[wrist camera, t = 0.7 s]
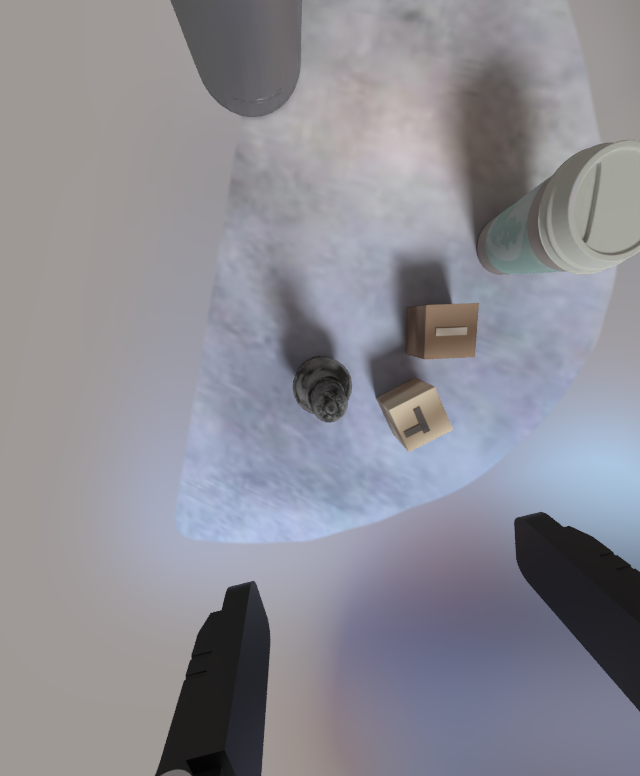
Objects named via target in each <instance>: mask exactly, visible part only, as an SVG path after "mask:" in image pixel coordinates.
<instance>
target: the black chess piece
mask: <svg viewBox="0 0 640 776" xmlns="http://www.w3.org/2000/svg"><path fill="white" fill-rule="evenodd" d="M351 390H352V382H351V377H350V375H349V373H348V371H347V369H346V368H345V367H344V366H343V365H342V364H341V363H339V362H338V361H336V360H334V359H331V358H327V357H320V356H318V357H313V358H311V359H308V360H307V361H305V362H304V363H303V364H302V365H301V367H300V368H299V369H298V371H297V373H296V375H295V378H294V381H293V392H294V396H295V398H296V400H297V402H298V404H299V405H300V406H301V407H302V408H303V409H304V410H306V411H307V412H309V413H312V414H315V415H316V416H317V418H319V419H320V420H322V421H324V422H335V421H337V420H339V419H340V418H342V417H343V415H344V414H345V413H346V410H347V405H348V400H349V397H350V395H351Z"/></svg>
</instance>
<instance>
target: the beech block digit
mask: <svg viewBox="0 0 640 776" xmlns="http://www.w3.org/2000/svg"><path fill="white" fill-rule="evenodd" d="M376 399H377V401H378V403H379V405H380V408H381V410H382V412H383V414H384V416H385V418H386V420H387V422H388V424H389V426H390V428H391V430H392V433H393V435H394V436H395V437H396V438H397V439H398V440H399V442H400V443H401V444H402V445H403V446H404V447H405V448H406V450H407V451H408V452H410V451H412V450H414V449H416V448H418V447H420V446H422V445H424V444H426V443H428V442H430V441H432V440H434V439H436V438H438V437H440V436H442V435H444V434H446V433H448V432H450V431H452V430H453V428H452V426H451V424H450V421H449V419H448V417H447V414H446V412H445V410H444V407H443V405H442V402H441V400H440V398H439V395H438V393H437V391H436V388H435V387H434V386H432V385H430V384H428V383H425V382H423V381H421V380H419V379H417V378H414V379H412V380H410V381H408V382H406V383H404V384H402V385H401V386H399V387H397V388H395V389H393V390H391V391H389V392H387V393H385V394H383V395H381V396H379V397H377V398H376Z"/></svg>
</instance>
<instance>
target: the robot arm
mask: <svg viewBox="0 0 640 776" xmlns="http://www.w3.org/2000/svg"><path fill="white" fill-rule="evenodd" d="M171 3H172V5H173V8H174V11H175V12H176V16H177V18H178V21H179V23H180V26H181V29H182V31H183V34H184V37H185V39H186V42H187V44H188V47H189V49H190V52H191V55H192V57H193V60H194V62H195V65H196V68H197V70H198V73H199V75H200V77H201V79H202V82H203V84H204V85H205V87H206V89H207V90H208V91H209V93H210V94H211V96H212V97H213V98H214V99H215V100H216V101H217V102H218V103H219V104H220V105H222V106H223V107H225V108H226V109H228V110H229V111H231V112H234V113H236V114H238V115H242V116H248V117H257V116H263V115H266V114H269V113H272V112H274V111H275V110H277V109H278V108H280V107H281V106H282V105H283V104H284V103H285V102H286V101H287V100H288V99H289V97H290V95H291V94H292V92H293V91H294V89H295V86H296V83H297V80H298V77H299V71H300V62H301V23H302V0H171ZM514 526H515V545H516V560H517V563H518V566H519V569H520V571H521V572H522V574H523V576H524V578H525V579H526V581H527V582H528V583H529V584H530V585H531V586H532V588H533V589H534V590H535V591H536V592H537V593H538V595H539V596H540V597H541V598H542V599H543V600H544V602H545V603H546V604H547V605H548V606H549V607H550V608H551V610H552V611H553V612H554V613H555V614H556V615H557V616H558V618H559V619H560V620H561V621H562V622H563V623H564V624H565V626H566V627H567V628H568V629H569V630H570V631H571V633H572V634H573V635H574V636H575V637H576V638H577V640H578V641H579V642H580V643H581V644H582V645H583V646H584V648H585V649H586V650H587V651H588V652H589V653H590V655H591V656H592V657H593V658H594V659H595V660H596V661H597V663H598V664H599V665H600V666H601V667H602V668H603V669H604V671H605V672H606V673H607V674H608V675H609V676H610V678H611V679H612V680H613V681H614V682H615V683H616V684H617V686H618V687H619V688H620V689H621V690H622V691H623V692H624V694H625V695H626V696H627V697H628V698H629V699H630V701H631V702H632V703H633V704H634V705H635V706H636V708H637V709H638V710H639V711H640V572H639V571H638V570H636V569H633V568H632V567H631V565H630V564H628V563H627V562H626V561H624V560H623V559H622V558H620V557H619V556H618V555H614V553H613V552H612V551H611V550H610V549H608V548H607V547H606V546H604V545H603V544H602V543H600V542H599V541H598V540H596V539H595V538H594V537H592V536H590V535H588V534H585V533H583V532H581V531H579V530H577V529H575V528H573V527H570V526H567V527H563V526H561V525H560V524H559V523H558V522H556V521H555V520H554V519H553V518H551V517H550V516H549V515H547V514H546V513H543V512H539V513H534V514H530V515H526V516H522V517H518V518H516V519H515V522H514ZM269 654H270V629H269V623H268V618H267V615H266V612H265V609H264V607H263V603H262V600H261V597H260V594H259V591H258V588H257V585H256V583H255V582H254V581H251V582H247V583H243V584H240V585H235V586H231V587H229V588H228V589H227V591H226V594H225V598H224V602H223V607H222V610H221V611H217V612H213V613H210V615H209V617H208V618H207V620H206V621H205V623H204V625H203V626H202V628H201V629H200V631H199V633H198V635H197V639H196V642H195V645H194V649H193V652H192V659H191V660H190V662H189V666H188V669H187V673H186V680H185V681H184V683H183V686H182V689H181V693H180V696H179V699H178V703H177V706H176V710H175V713H174V716H173V720H172V723H171V727H170V730H169V733H168V737H167V740H166V744H165V747H164V750H163V754H162V757H161V760H160V764H159V767H158V770H157V772H156V775H155V776H261V771H262V756H263V742H264V727H265V712H266V698H267V684H268V670H269Z"/></svg>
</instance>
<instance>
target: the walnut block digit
mask: <svg viewBox="0 0 640 776" xmlns="http://www.w3.org/2000/svg"><path fill="white" fill-rule="evenodd" d="M478 307H479V303H471V304H440V305H422V306H414V307H407V338H406V354H408V355H411V356H415V357H418V358H422V359H442V358H464V357H475V347H476V334H477V320H478Z"/></svg>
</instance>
